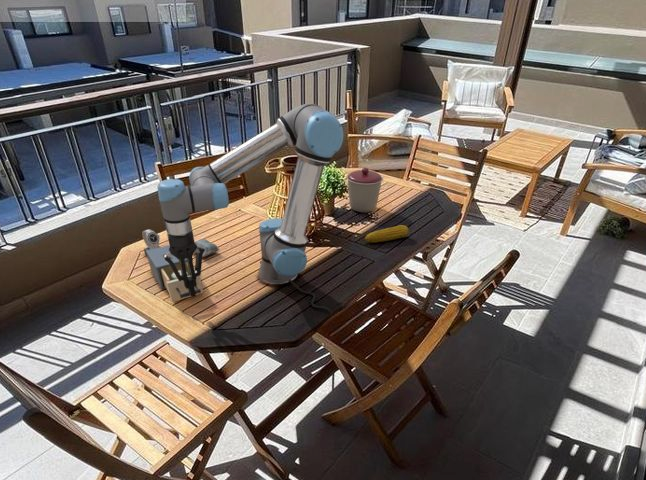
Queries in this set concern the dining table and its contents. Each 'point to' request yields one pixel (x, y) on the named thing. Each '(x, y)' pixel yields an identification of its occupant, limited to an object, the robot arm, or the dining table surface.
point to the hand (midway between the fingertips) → (192, 294)
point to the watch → (150, 240)
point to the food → (387, 234)
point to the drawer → (178, 283)
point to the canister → (364, 189)
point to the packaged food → (207, 247)
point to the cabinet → (159, 262)
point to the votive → (175, 275)
